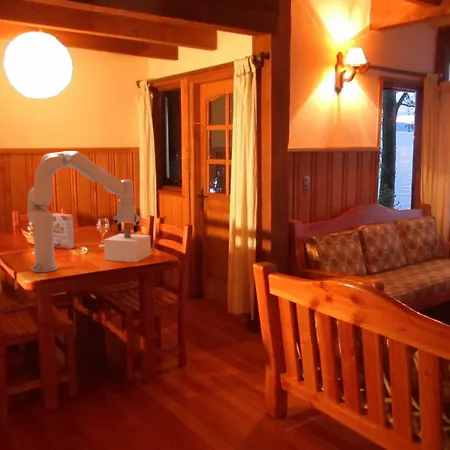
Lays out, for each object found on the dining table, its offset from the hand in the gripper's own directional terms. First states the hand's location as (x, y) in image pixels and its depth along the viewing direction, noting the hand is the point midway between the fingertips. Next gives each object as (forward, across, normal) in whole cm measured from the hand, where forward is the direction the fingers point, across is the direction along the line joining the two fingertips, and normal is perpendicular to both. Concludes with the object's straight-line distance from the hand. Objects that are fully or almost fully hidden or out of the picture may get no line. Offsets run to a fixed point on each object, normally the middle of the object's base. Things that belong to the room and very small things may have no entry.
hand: (127, 231), depth 296 cm
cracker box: (+15, -51, +13) cm, 55 cm away
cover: (+15, 0, 0) cm, 15 cm away
